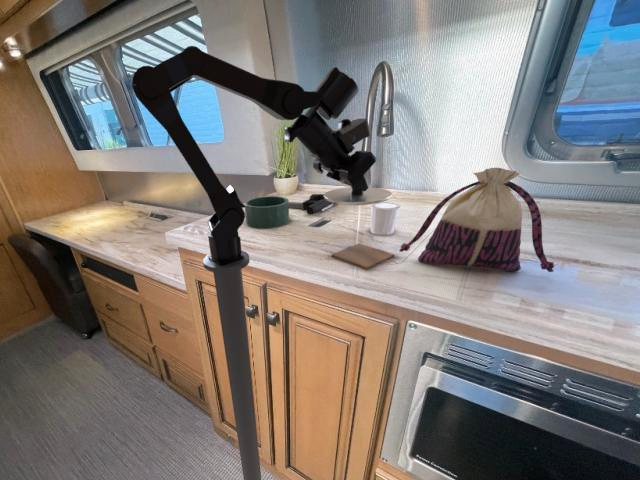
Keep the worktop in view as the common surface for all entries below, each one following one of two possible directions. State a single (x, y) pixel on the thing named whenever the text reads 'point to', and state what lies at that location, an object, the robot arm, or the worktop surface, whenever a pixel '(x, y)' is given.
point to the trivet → (363, 256)
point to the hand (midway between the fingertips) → (362, 188)
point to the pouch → (483, 226)
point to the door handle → (313, 204)
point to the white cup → (384, 218)
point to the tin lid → (357, 196)
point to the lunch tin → (267, 212)
